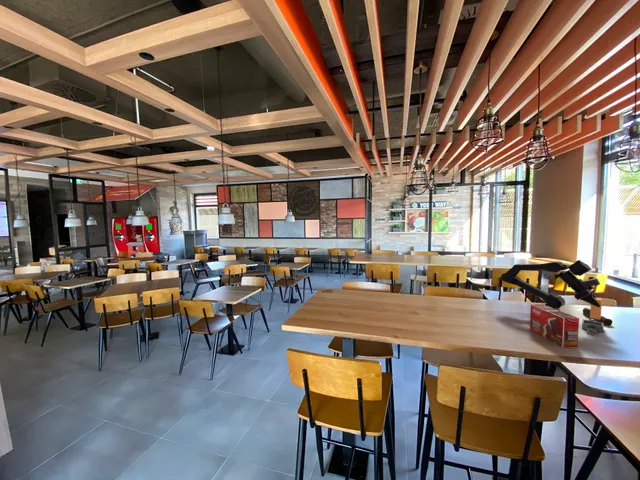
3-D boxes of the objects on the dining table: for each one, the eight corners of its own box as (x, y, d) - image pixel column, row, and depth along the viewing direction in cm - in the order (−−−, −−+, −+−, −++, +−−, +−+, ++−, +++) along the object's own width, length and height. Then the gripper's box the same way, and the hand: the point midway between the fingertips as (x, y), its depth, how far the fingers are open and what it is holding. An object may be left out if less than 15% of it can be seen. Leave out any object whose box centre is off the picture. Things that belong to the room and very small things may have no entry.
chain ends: (603, 337, 127) (603, 331, 127) (581, 332, 133) (581, 326, 133) (602, 324, 142) (602, 319, 142) (582, 321, 148) (583, 316, 147)
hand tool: (612, 326, 140) (613, 318, 140) (603, 325, 142) (603, 317, 141) (588, 315, 158) (589, 307, 158) (580, 314, 160) (580, 306, 159)
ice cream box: (529, 329, 137) (530, 304, 137) (542, 329, 137) (543, 304, 136) (562, 347, 117) (563, 318, 117) (577, 347, 117) (579, 318, 116)
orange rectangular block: (599, 319, 134) (601, 300, 133) (589, 317, 137) (591, 298, 136) (600, 317, 136) (602, 298, 136) (590, 316, 139) (592, 297, 138)
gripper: (584, 274, 132) (616, 301, 124) (589, 269, 144) (618, 294, 136) (562, 286, 139) (591, 312, 131) (569, 281, 150) (595, 305, 143)
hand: (600, 305), depth 135 cm, fingers closed on orange rectangular block, 4 cm apart
